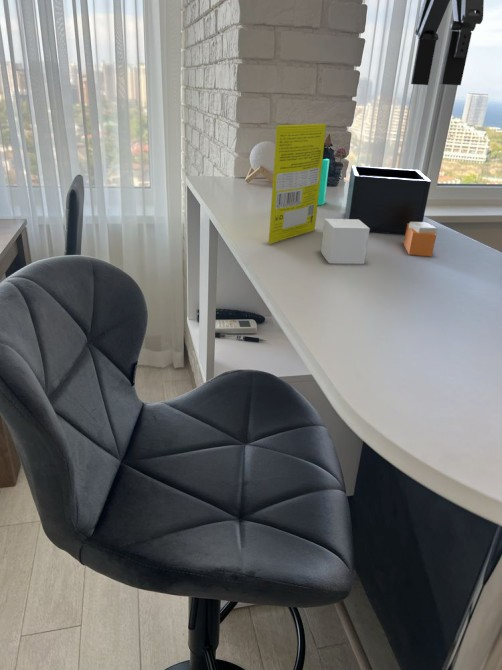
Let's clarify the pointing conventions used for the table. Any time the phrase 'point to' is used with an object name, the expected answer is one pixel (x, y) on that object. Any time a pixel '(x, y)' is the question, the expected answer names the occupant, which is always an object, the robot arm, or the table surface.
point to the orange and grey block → (420, 238)
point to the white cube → (344, 241)
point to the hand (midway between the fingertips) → (433, 85)
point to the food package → (296, 179)
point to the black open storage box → (386, 198)
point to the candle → (323, 181)
